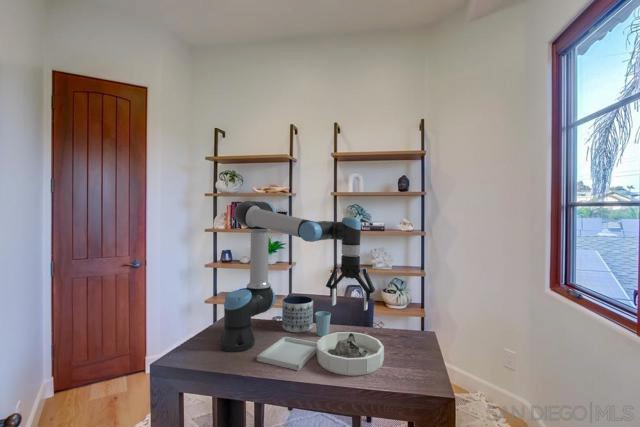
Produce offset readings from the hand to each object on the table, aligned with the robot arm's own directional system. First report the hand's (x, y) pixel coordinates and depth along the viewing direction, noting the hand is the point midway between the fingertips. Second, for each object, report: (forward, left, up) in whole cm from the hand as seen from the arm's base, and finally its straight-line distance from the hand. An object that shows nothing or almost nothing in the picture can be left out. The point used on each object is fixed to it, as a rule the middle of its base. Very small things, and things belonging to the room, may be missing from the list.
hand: (349, 307), depth 127 cm
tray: (-24, -6, -21) cm, 32 cm away
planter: (-36, +23, -21) cm, 47 cm away
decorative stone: (0, -1, -20) cm, 20 cm away
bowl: (0, 0, -21) cm, 21 cm away
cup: (-20, +19, -21) cm, 35 cm away
